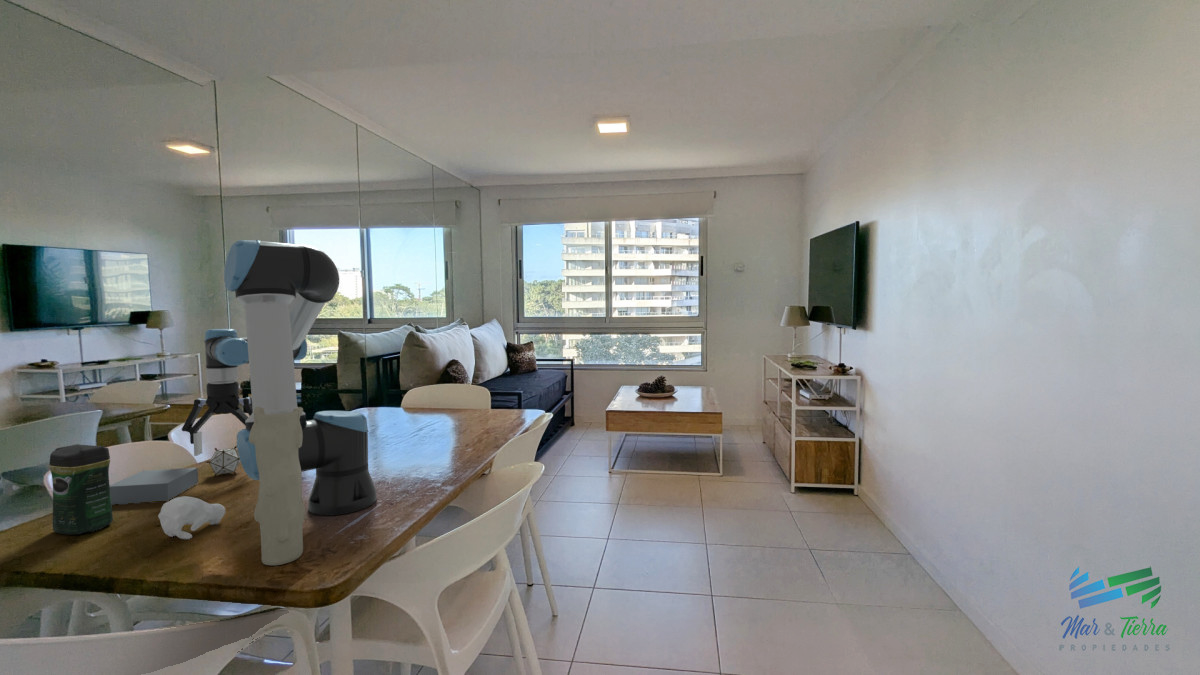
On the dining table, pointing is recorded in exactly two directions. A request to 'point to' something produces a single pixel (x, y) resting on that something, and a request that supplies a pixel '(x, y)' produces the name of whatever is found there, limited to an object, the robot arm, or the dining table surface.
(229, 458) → the game die
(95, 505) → the coffee jar
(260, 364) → the robot arm
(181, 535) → the white animal figurine
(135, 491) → the grey square block
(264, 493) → the vase
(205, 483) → the dining table surface
